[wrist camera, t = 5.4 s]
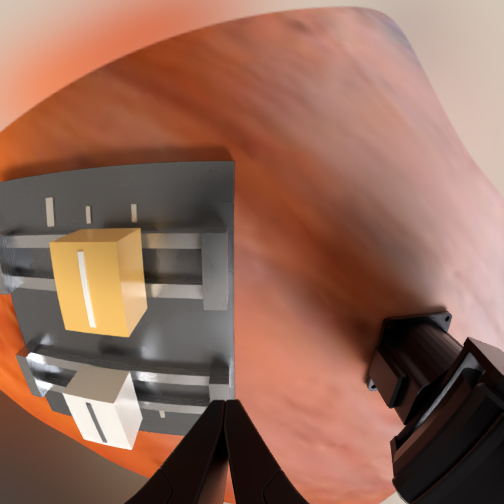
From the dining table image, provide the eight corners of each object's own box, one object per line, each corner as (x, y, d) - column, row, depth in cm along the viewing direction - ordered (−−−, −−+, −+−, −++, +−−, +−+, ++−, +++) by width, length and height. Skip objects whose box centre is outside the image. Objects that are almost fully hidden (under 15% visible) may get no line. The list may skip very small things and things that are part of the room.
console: (234, 162, 16) (233, 158, 13) (235, 427, 21) (235, 454, 18) (6, 181, 15) (-20, 185, 12) (57, 403, 20) (44, 422, 17)
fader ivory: (135, 360, 18) (113, 404, 13) (146, 406, 19) (131, 450, 14) (89, 354, 17) (61, 393, 13) (104, 399, 19) (83, 440, 14)
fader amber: (147, 223, 15) (115, 242, 11) (153, 298, 17) (128, 338, 12) (91, 225, 15) (48, 242, 11) (100, 295, 16) (64, 330, 12)
